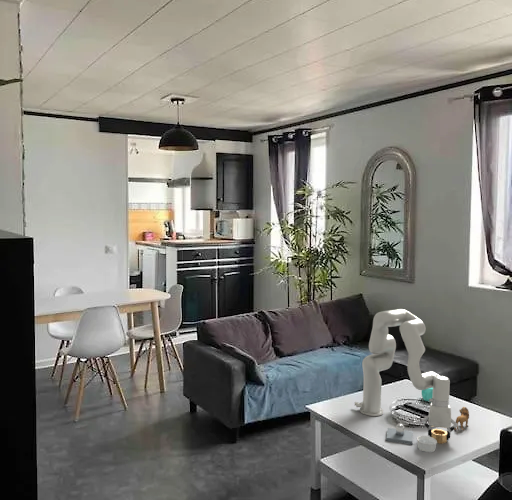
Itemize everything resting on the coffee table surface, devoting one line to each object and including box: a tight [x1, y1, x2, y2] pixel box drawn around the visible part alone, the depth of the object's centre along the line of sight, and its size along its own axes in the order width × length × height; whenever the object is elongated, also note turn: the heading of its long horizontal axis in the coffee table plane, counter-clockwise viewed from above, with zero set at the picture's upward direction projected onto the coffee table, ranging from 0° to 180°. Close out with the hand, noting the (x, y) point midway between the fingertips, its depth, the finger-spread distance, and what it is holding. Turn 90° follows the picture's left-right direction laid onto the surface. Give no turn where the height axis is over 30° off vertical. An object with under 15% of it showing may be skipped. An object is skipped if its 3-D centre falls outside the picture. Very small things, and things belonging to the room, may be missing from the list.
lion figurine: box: [453, 406, 470, 432], centre depth 270 cm, size 15×5×9 cm, turn 148°
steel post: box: [395, 422, 405, 436], centre depth 257 cm, size 4×4×5 cm
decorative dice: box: [421, 388, 433, 403], centre depth 308 cm, size 8×8×8 cm
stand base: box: [385, 427, 414, 445], centre depth 258 cm, size 12×12×2 cm
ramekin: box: [416, 435, 438, 453], centre depth 246 cm, size 9×9×4 cm
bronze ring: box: [431, 428, 448, 445], centre depth 255 cm, size 7×7×4 cm
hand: (438, 438), depth 255 cm, fingers open, 7 cm apart
